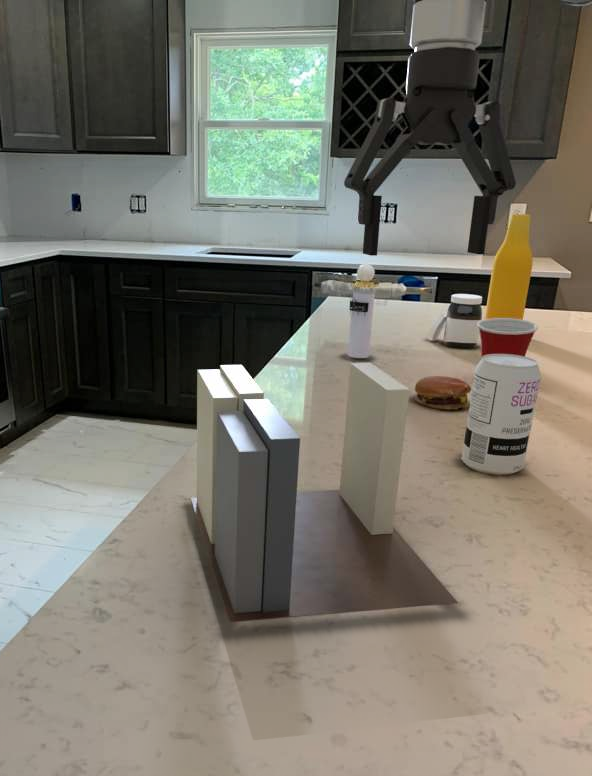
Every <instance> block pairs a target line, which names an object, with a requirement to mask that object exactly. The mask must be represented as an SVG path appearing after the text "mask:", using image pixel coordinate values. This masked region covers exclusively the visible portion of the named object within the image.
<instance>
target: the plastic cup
mask: <svg viewBox="0 0 592 776" xmlns="http://www.w3.org/2000/svg"><path fill="white" fill-rule="evenodd" d="M477 326H478V328H479V330H480V332H479V339H480V356H481V357H480V359H481V360H482V357H483V356H485V355H489V354H511V355H518V356H524V357H526V354H527V353H528V352H527V351H528V349H529V346H530V344H531V341H532V339H533V337H534V335H535V333H536V331H537V330H538V329H539V325H538V324H537V323H534V322H532V321H530V320H525V319H523V320H521V319H511V318H494V319H486V320H484V319H481V321H480V322H478V323H477ZM481 360H480V361H481Z"/></svg>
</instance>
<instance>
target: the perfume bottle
mask: <svg viewBox="0 0 592 776" xmlns="http://www.w3.org/2000/svg"><path fill="white" fill-rule="evenodd" d="M375 273H376V271H375V267H374V266H373V265H371V264H370V263H363V264H361V265H359V267H358V268H357V271H356V276H357V279H358V280H353V281H351V282H350V286H352V287H356V288H367V289H369V288H370V289H371V288H378V287H379V286H380V283H379V282H377V281H374V280H373V279H374V277H375ZM375 296H376V292H374V291H371V290H370V291H369V290H354V291H353V292H352V296H350V298H349V311H350V312H349V313H350V323H349V335H348V344H347V345H348V347H347V356H348V357H350V358H354V359H355V358H356V359H366V358H369V357H370V349H371V338H372V327H373V320H374V319H373V318H374V308H375Z"/></svg>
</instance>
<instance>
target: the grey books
mask: <svg viewBox="0 0 592 776" xmlns="http://www.w3.org/2000/svg"><path fill="white" fill-rule="evenodd" d="M300 445H301V438H300V436H299V435H298V434H297V432H296V431H295V430H294V429H293V427H292V426H291V425H290V424H289V422H288V420H286V419H285V417H284V416H283V415H282V413H280V411H279V410H278V408H276V406H275V405H274V404H273V402H272V401H271V400H270V399H269V398H264V399H249V400H244V402H243V411H222V412H217V446H216V511H215V557H216V560H217V563H218V566H219V569H220V572H221V575H222V578H223V581H224V584H225V587H226V590H227V593H228V596H229V599H230V602H231V605H232V608H233V611H234V613H245V612H257V611H261V609H262V611H263V612H273V611H285V610H289V609H290V593H291V577H292V561H293V545H294V529H295V513H296V497H297V492H298V481H299V480H298V479H299V462H300V447H301V446H300Z"/></svg>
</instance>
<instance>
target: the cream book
mask: <svg viewBox="0 0 592 776" xmlns="http://www.w3.org/2000/svg"><path fill="white" fill-rule="evenodd" d="M410 392H411V391H410V388H409V387H407V386H406V385H404V384H402V382H400V381H399V380H397V379H395V378H394V377H393V376H391V375H390V374H388V373H386V371H384V370H382V369H380V367H378V366H376V365H375V364H373V363H372V362H350V366H349V376H348V389H347V398H346V400H347V401H346V412H345V421H344V423H345V424H344V435H343V444H342V454H341V455H342V457H341V459H342V460H341V466H340V467H341V469H340V477H339V478H340V479H339V489H338V490H339V494H340V495H341V497H342V498H343V499H344V500H345V502H346V503H347V504H348V506H349V507H350V508H351V509H352V511H353V512H354V513H355V515H356V516H357V517H358V518H359V520H360V521H361V522H362V524H363V525H364V526H365V527H366V529H367V530H368V531H369V533H370V534H371V535H379V534H392V532H393V527H394V522H395V515H396V506H397V497H398V488H399V482H400V472H401V464H402V458H403V457H402V456H403V447H404V439H405V433H406V422H407V416H408V407H409V399H410Z"/></svg>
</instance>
